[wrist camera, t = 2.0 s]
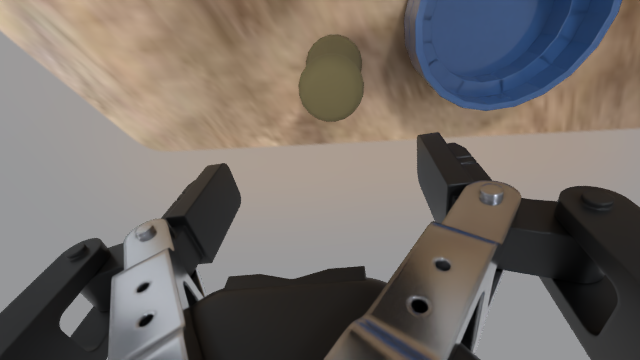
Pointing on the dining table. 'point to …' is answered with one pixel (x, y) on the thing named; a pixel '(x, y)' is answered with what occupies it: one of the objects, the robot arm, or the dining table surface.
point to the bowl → (502, 46)
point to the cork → (332, 79)
